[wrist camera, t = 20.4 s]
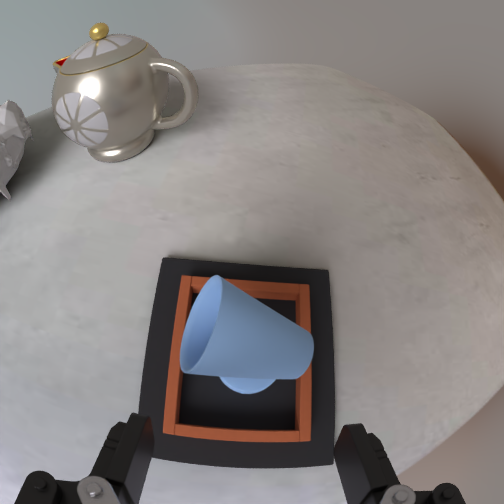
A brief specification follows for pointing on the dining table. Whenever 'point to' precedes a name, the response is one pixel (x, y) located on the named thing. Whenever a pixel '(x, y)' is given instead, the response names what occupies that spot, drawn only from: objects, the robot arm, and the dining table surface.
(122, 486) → the robot arm
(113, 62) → the teapot
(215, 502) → the dining table surface
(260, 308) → the spotlight
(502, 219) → the dining table surface
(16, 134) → the bowl
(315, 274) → the pad
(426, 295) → the dining table surface
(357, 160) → the dining table surface
